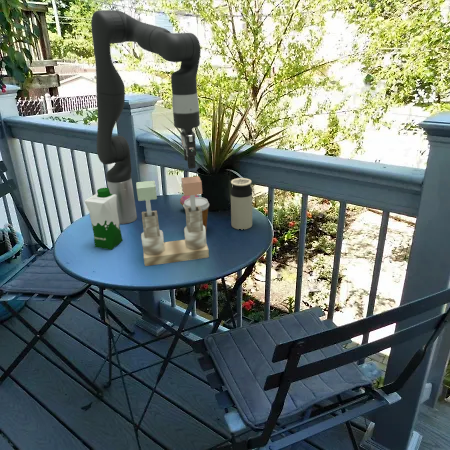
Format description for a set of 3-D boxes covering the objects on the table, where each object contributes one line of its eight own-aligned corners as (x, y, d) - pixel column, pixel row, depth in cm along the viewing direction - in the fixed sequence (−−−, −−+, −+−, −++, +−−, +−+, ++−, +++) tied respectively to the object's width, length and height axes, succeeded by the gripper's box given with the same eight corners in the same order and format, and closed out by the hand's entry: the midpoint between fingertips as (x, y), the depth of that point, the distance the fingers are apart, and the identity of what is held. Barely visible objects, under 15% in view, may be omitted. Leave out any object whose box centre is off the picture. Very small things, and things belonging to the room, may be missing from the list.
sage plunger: (141, 221, 124) (136, 188, 119) (140, 214, 129) (136, 182, 124) (159, 219, 125) (155, 186, 120) (158, 212, 130) (154, 180, 125)
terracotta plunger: (186, 216, 126) (183, 183, 122) (183, 209, 131) (181, 177, 127) (203, 214, 127) (201, 181, 123) (200, 207, 132) (198, 176, 128)
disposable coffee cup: (207, 237, 145) (205, 207, 140) (182, 236, 147) (179, 206, 142) (213, 226, 154) (211, 197, 148) (189, 224, 155) (187, 196, 150)
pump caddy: (144, 266, 129) (138, 221, 122) (144, 252, 137) (138, 209, 130) (209, 257, 133) (206, 213, 126) (204, 244, 141) (201, 202, 134)
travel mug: (252, 230, 150) (252, 184, 142) (231, 230, 150) (230, 185, 142) (251, 220, 157) (251, 177, 149) (231, 221, 157) (230, 177, 149)
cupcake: (184, 216, 163) (182, 188, 157) (178, 208, 170) (175, 181, 164) (204, 212, 166) (202, 184, 160) (197, 204, 173) (195, 178, 167)
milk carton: (126, 239, 146) (118, 188, 137) (111, 251, 138) (102, 198, 129) (106, 236, 149) (96, 186, 140) (90, 248, 141) (79, 195, 132)
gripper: (202, 113, 110) (205, 170, 117) (195, 104, 122) (198, 156, 129) (175, 115, 108) (180, 172, 115) (170, 106, 121) (175, 158, 128)
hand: (189, 164), depth 122 cm, fingers open, 8 cm apart
